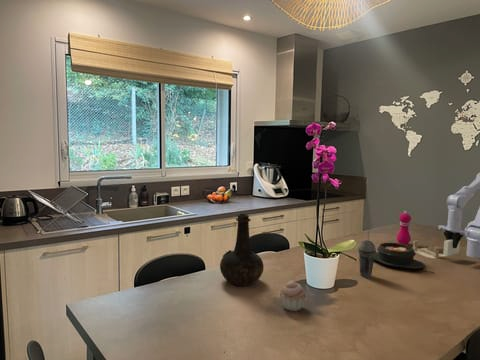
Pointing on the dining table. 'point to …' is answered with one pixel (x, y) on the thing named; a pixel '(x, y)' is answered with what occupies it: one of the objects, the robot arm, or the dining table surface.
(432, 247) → the offcut stack
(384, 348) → the dining table surface
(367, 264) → the beverage cup
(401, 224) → the pepper mill
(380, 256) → the casserole
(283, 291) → the cupcake
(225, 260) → the glass bottle
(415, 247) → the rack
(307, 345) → the dining table surface
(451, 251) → the white upright panel
